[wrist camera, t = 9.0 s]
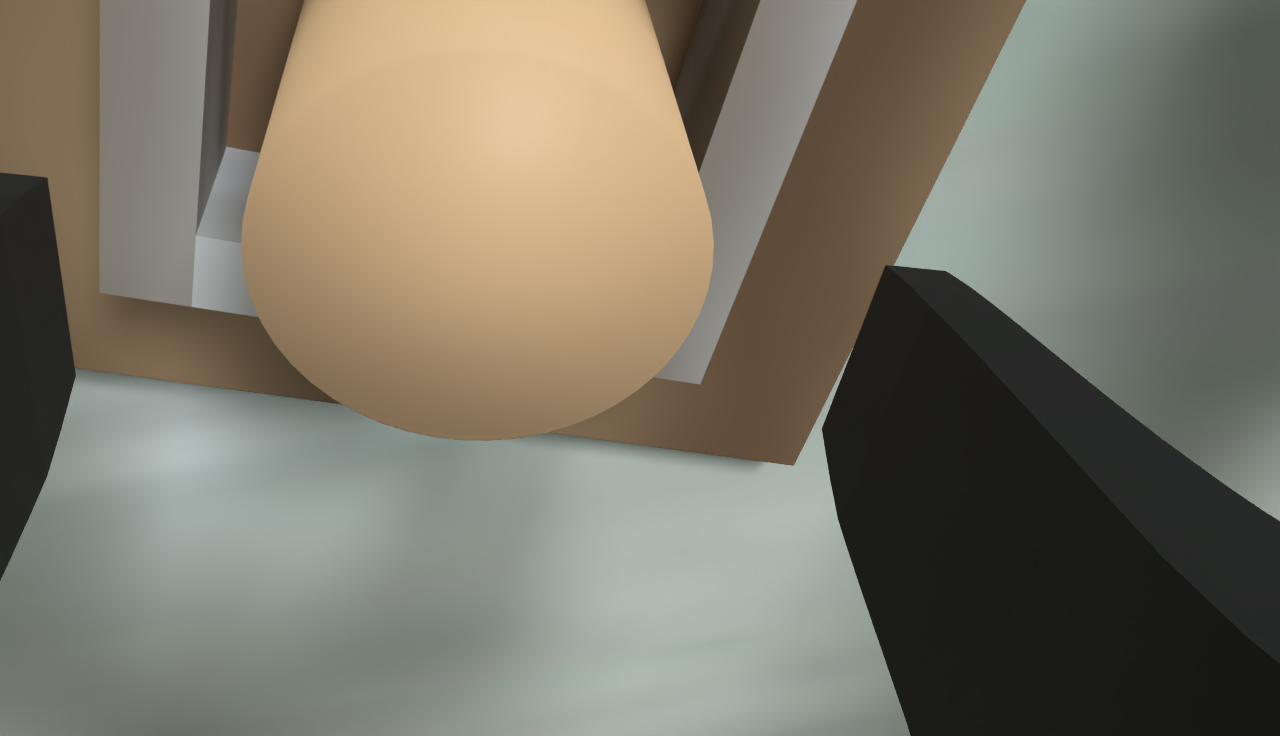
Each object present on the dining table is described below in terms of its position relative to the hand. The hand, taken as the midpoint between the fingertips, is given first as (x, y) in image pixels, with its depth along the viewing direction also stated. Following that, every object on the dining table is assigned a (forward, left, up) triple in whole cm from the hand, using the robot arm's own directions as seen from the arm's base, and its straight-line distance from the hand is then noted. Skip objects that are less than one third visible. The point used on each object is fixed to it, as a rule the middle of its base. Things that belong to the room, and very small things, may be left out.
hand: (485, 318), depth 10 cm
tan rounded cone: (0, 0, -8) cm, 8 cm away
